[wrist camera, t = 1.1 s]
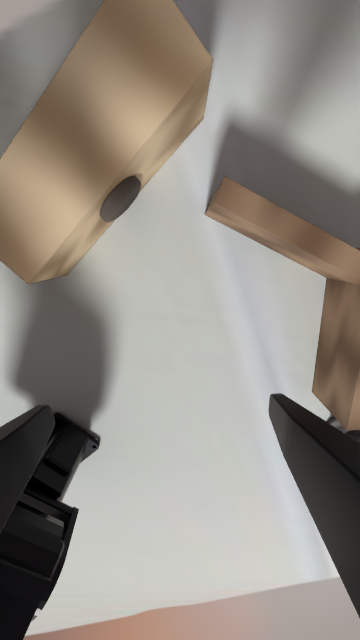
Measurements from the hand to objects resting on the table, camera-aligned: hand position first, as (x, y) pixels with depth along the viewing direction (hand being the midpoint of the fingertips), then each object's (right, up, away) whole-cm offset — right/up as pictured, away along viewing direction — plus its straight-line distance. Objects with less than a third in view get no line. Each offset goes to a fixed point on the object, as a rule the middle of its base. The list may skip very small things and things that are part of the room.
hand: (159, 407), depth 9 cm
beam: (-5, +14, +8) cm, 17 cm away
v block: (+12, +6, +11) cm, 17 cm away
